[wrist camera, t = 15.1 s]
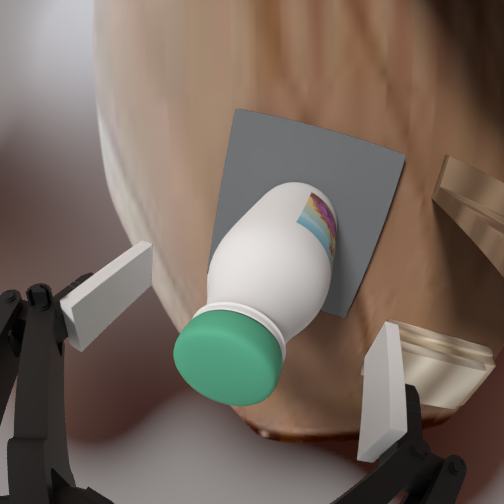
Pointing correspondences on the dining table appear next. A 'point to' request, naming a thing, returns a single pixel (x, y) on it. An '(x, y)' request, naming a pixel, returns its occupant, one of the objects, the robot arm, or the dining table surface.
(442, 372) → the offcut rack
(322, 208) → the milk bottle
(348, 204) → the charcoal mat
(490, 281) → the dining table surface
